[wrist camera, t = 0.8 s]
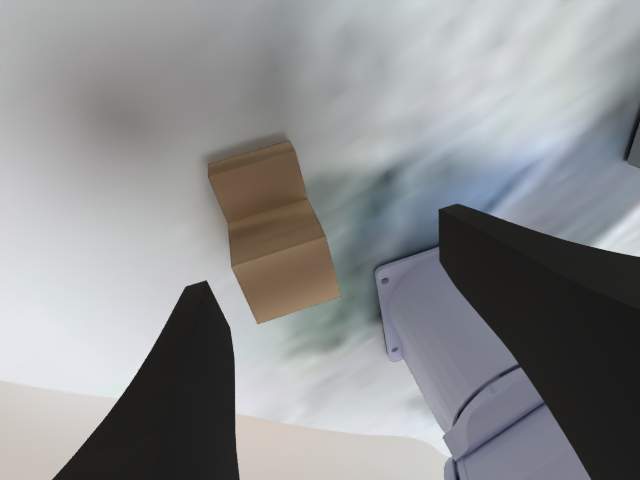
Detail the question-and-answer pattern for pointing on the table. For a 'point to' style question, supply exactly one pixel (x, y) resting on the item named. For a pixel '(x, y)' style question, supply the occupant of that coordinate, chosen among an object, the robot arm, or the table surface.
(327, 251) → the wooden step block
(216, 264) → the table surface
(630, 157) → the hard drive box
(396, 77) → the table surface
